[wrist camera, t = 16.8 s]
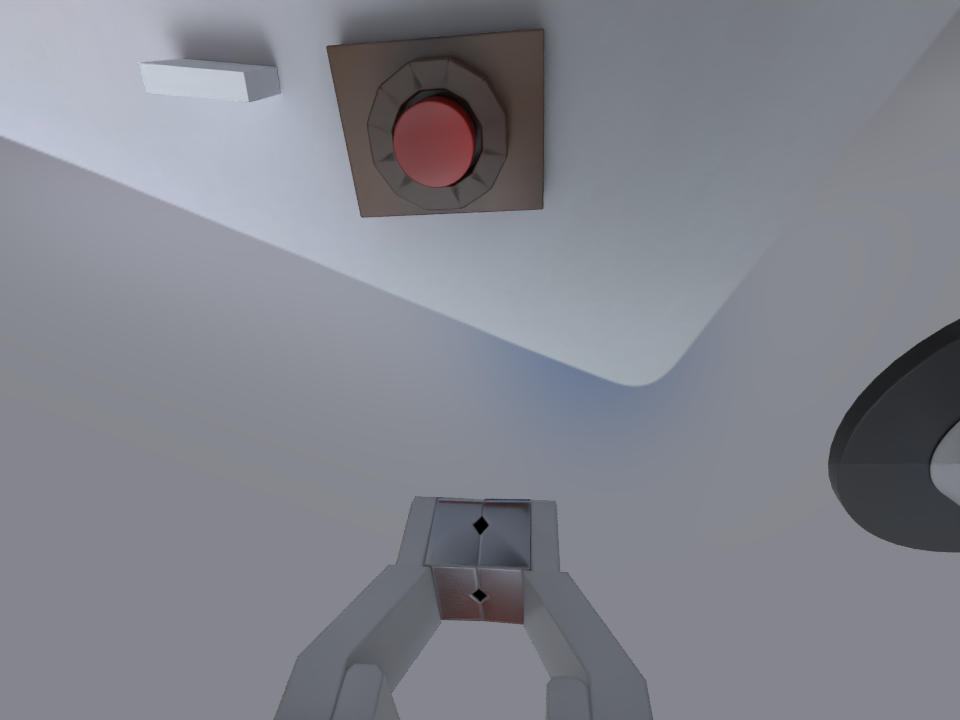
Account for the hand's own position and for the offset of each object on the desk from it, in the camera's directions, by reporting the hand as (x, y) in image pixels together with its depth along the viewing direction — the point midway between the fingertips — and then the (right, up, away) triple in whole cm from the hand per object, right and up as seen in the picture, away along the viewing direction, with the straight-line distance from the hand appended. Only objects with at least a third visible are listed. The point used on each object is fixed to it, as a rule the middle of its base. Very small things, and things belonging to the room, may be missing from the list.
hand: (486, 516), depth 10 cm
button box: (-2, +16, +16) cm, 22 cm away
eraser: (-13, +18, +15) cm, 27 cm away
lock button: (-2, +14, +13) cm, 19 cm away
